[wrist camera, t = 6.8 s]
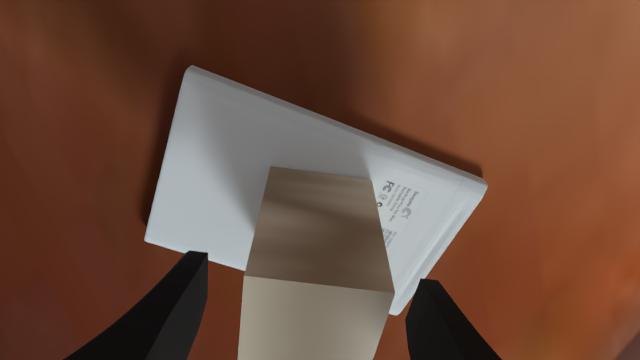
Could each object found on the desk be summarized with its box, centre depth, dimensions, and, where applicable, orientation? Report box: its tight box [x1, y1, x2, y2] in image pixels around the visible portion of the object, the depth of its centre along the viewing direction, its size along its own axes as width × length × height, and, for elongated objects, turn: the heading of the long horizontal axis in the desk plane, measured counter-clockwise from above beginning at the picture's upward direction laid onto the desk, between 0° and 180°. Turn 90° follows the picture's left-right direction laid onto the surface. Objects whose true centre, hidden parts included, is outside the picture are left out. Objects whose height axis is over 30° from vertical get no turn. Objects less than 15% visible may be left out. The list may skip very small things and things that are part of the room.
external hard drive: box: [144, 65, 488, 315], centre depth 18 cm, size 2×8×12 cm
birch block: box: [238, 166, 395, 360], centre depth 14 cm, size 4×4×6 cm
